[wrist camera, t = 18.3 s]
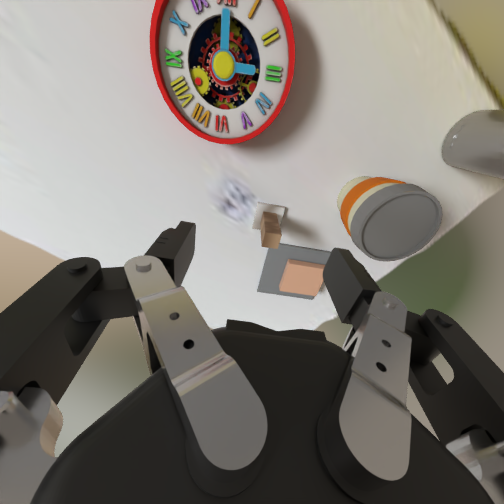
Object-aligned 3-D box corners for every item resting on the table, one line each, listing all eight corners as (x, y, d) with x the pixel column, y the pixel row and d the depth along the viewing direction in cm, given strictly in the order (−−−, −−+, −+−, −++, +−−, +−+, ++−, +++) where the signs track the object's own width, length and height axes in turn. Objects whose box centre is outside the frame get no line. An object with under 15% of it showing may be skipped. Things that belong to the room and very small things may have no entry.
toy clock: (158, 135, 34) (137, -67, 24) (170, 133, 39) (157, -36, 29) (280, 151, 36) (312, -35, 25) (276, 147, 40) (302, -10, 30)
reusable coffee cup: (402, 188, 44) (462, 217, 32) (357, 234, 50) (392, 273, 37) (360, 153, 41) (408, 170, 28) (316, 206, 46) (339, 240, 34)
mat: (333, 252, 53) (333, 253, 52) (311, 298, 61) (312, 299, 61) (270, 241, 51) (270, 242, 51) (257, 290, 60) (257, 291, 59)
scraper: (284, 206, 47) (292, 229, 37) (277, 230, 50) (283, 256, 40) (257, 201, 46) (258, 223, 37) (252, 226, 49) (252, 252, 40)
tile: (287, 258, 53) (325, 264, 54) (278, 285, 58) (313, 290, 59) (289, 263, 51) (328, 269, 52) (279, 290, 56) (315, 296, 57)
